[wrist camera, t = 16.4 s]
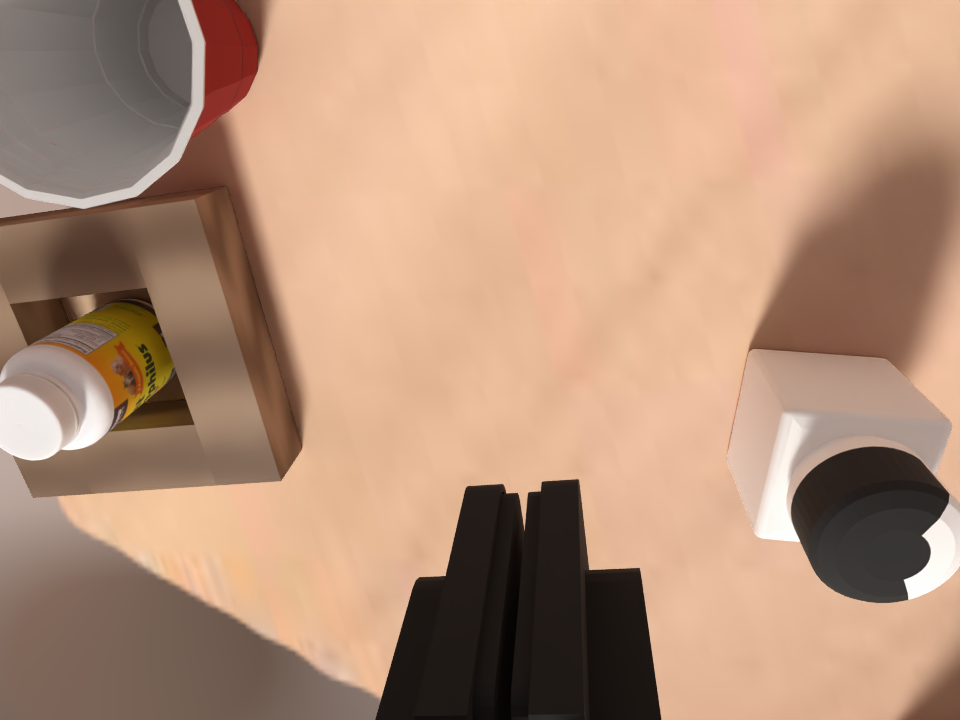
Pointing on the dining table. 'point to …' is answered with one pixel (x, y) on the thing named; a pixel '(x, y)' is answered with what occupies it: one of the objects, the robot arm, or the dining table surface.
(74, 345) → the supplement bottle
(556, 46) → the dining table surface
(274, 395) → the square bottle holder
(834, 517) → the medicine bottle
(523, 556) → the robot arm
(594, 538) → the dining table surface
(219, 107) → the plastic cup
